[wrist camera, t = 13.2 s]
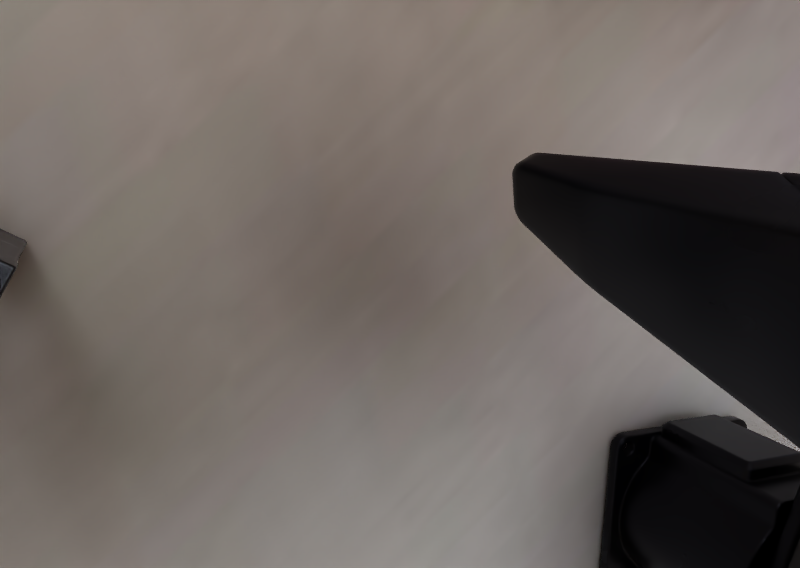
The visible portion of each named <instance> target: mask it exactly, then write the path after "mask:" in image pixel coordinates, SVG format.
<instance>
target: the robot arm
mask: <svg viewBox="0 0 800 568" xmlns="http://www.w3.org/2000/svg"><path fill="white" fill-rule="evenodd" d="M512 178H513V195H514V208H515V212H516V214H517V216H518V218H519V219H520V221H521V222H522V223H523V224H524V225H525V226H526V227H527V228H528V229H529V230H530V231H531V232H532V233H533V234H534V235H535V236H536V237H537V238H539V239H540V240H541V241H542V242H543V243H544V244H545V245H546V246H547V247H548V248H549V249H550V250H551V251H552V252H553V253H554V254H555V255H556V256H557V257H558V258H559V259H561V260H562V261H563V262H564V263H565V264H566V265H567V266H568V267H569V268H570V269H571V270H572V271H573V272H574V273H575V274H576V275H577V276H578V277H580V278H581V279H582V280H583V281H584V282H585V283H586V284H588V285H589V286H590V287H591V288H592V289H594V290H595V291H596V292H597V293H599V294H600V295H601V296H603V297H604V298H605V299H606V300H608V301H609V302H610V303H612V304H613V305H614V306H616V307H617V308H618V309H619V310H621V311H622V312H623V313H625V314H626V315H627V316H629V317H630V318H631V319H632V320H634V321H635V322H636V323H638V324H639V325H640V326H642V327H643V328H644V329H645V330H647V331H648V332H649V333H651V334H652V335H653V336H655V337H656V338H657V339H658V340H660V341H661V342H662V343H664V344H665V345H666V346H668V347H669V348H670V349H671V350H673V351H674V352H675V353H677V354H678V355H679V356H681V357H682V358H683V359H684V360H686V361H687V362H688V363H690V364H691V365H692V366H694V367H695V368H696V369H697V370H699V371H700V372H701V373H703V374H704V375H705V376H707V377H708V378H709V379H710V380H712V381H713V382H714V383H716V384H717V385H718V386H720V387H721V388H722V389H723V390H725V391H726V392H727V393H729V394H730V395H731V396H733V397H734V398H735V399H737V400H738V401H739V402H740V403H742V404H743V405H744V406H746V407H747V408H748V409H750V410H751V411H752V412H753V413H755V414H756V415H757V416H759V417H760V418H761V419H763V420H764V421H765V422H766V423H768V424H769V425H770V426H772V427H773V428H774V429H776V430H777V431H778V432H779V433H781V434H782V435H783V436H785V437H786V438H787V439H789V440H790V441H791V442H792V443H794V444H795V445H796V446H798V447H799V448H800V174H797V173H782V174H780V173H779V172H772V171H759V170H747V169H734V168H722V167H710V166H697V165H685V164H673V163H660V162H648V161H635V160H623V159H611V158H598V157H586V156H574V155H561V154H549V153H534V154H532V155H530V156H528V157H527V158H525V159H524V160H522V161H521V162H519V163H518V164H516V165H515V167H514V169H513V172H512ZM626 443H627V445H626V447H625V449H624V450H623V447H624V445H625V444H626ZM600 568H800V452H798V451H796V450H794V449H792V448H789V447H787V446H785V445H783V444H780V443H778V442H776V441H774V440H771V439H769V438H767V437H765V436H762V435H760V434H758V433H756V432H753V431H751V430H749V429H747V425H746V423H745V422H744V421H743V420H741V419H739V418H737V417H734V416H729V417H720V416H717V415H708V416H701V417H694V418H687V419H680V420H673V421H668V422H667V423H665V424H663V425H662V426H661V427H655V428H648V429H641V430H634V431H627V432H622V433H619V434H617V435H616V436H615V437H614V439H613V440H612V443H611V448H610V459H609V470H608V481H607V492H606V503H605V514H604V525H603V537H602V548H601V559H600Z"/></svg>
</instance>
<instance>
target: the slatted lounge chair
mask: <svg viewBox="0 0 800 568" xmlns="http://www.w3.org/2000/svg"><path fill="white" fill-rule="evenodd" d="M26 245H27V242H26V241H25V240H24V239H22V238H19V237H17V236H15V235H13V234H11V233H9V232H6V231H4V230H2V229H0V298H1V296H2V294H3V292H4V290H5V289H6V287H7V285H8V283H9V281H10V280H11V278H12V276H13V274H14V272H15V271H16V269H17V267H18V263H17V261H18V259H19V257H20V256H21V254H22V252H23V250H24V248H25V247H26Z"/></svg>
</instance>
